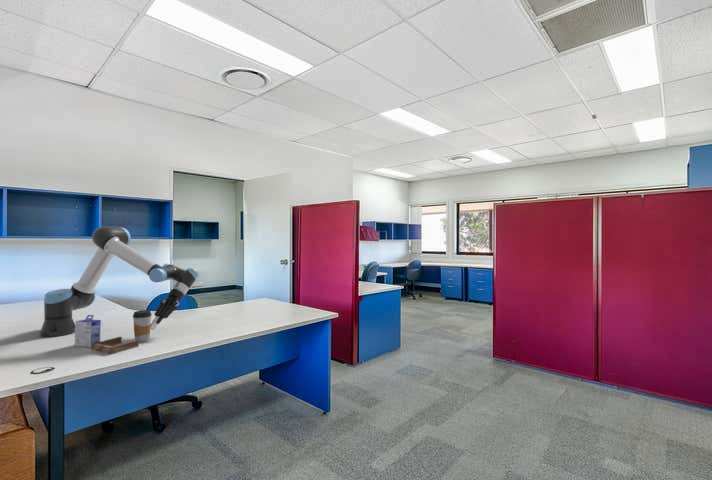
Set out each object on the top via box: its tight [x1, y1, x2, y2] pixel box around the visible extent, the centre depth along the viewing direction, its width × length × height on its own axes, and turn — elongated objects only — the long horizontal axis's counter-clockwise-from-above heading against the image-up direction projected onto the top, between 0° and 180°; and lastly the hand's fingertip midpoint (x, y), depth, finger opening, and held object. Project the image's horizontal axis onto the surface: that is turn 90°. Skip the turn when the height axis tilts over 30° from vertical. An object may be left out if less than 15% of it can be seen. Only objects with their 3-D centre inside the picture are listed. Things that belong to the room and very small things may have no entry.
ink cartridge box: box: [74, 314, 102, 348], centre depth 175 cm, size 10×6×14 cm, turn 78°
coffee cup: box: [132, 309, 152, 343], centre depth 183 cm, size 8×8×15 cm
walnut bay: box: [91, 336, 140, 355], centre depth 170 cm, size 14×13×3 cm
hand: (151, 328), depth 187 cm, fingers closed
